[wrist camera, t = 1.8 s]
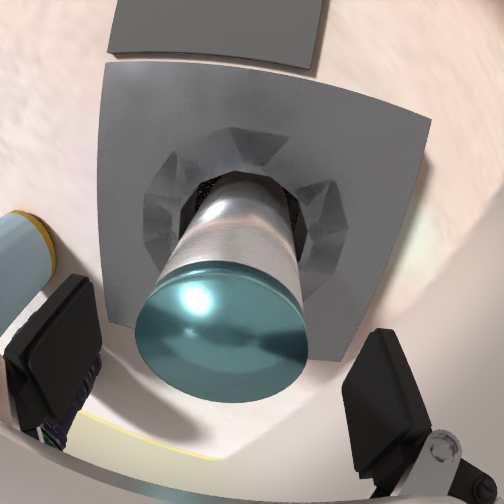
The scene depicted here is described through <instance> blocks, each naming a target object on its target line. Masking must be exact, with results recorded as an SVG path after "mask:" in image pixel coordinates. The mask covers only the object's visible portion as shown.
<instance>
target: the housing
mask: <svg viewBox="0 0 504 504" xmlns="http://www.w3.org/2000/svg"><path fill="white" fill-rule="evenodd" d="M431 121H432V119H429V118H427V117H424V116H422V115H419V114H417V113H414V112H412V111H409V110H407V109H404V108H401V107H399V106H396V105H393V104H390V103H388V102H385V101H382V100H379V99H376V98H373V97H370V96H366V95H363V94H360V93H357V92H353V91H350V90H346V89H343V88H339V87H335V86H331V85H328V84H324V83H320V82H315V81H311V80H307V79H302V78H298V77H293V76H288V75H283V74H277V73H272V72H266V71H260V70H253V69H246V68H239V67H231V66H222V65H212V64H200V63H185V62H156V61H136V62H108V63H106V64H105V70H104V78H103V86H102V95H101V105H100V117H99V131H98V154H97V207H98V229H99V245H100V257H101V267H102V277H103V285H104V293H105V301H106V308H107V314H108V320H109V322H111V323H115V324H119V325H123V326H126V327H130V328H134V329H135V326H136V321H137V318H138V315H139V313H140V311H141V309H142V307H143V306H144V304H145V302H146V300H147V298H148V296H149V294H150V293H151V291H152V289H153V287H154V285H155V283H156V282H157V280H158V278H159V276H160V274H161V273H162V271H163V269H164V267H165V265H166V264H167V262H168V260H169V258H170V257H171V255H172V253H173V251H174V250H175V248H176V246H177V245H178V243H179V241H180V239H181V238H182V236H183V234H184V233H185V231H186V229H187V228H188V226H189V224H190V223H191V221H192V219H193V218H194V216H195V214H196V213H195V208H196V199H197V189H198V186H199V185H200V183H202V182H204V181H207V180H209V179H212V178H215V177H217V176H220V175H223V174H225V173H228V172H231V171H234V170H235V171H241V172H247V173H253V174H258V175H264V176H269V177H272V178H273V179H274V180H275V181H276V182H278V183H279V184H280V185H281V186H282V187H284V188H285V189H286V190H287V191H288V192H290V193H291V194H292V195H293V196H294V197H295V198H297V199H298V201H299V204H300V210H299V214H298V219H297V223H296V227H295V230H294V231H293V232H292V234H293V240H294V246H295V253H296V260H297V266H298V273H299V280H300V287H301V294H302V301H303V309H304V317H305V324H306V332H307V340H308V358H307V359H313V360H324V361H335V362H341V361H342V359H343V357H344V355H345V353H346V351H347V349H348V347H349V345H350V343H351V341H352V339H353V337H354V335H355V333H356V331H357V329H358V327H359V325H360V323H361V321H362V319H363V316H364V314H365V312H366V310H367V308H368V306H369V303H370V301H371V299H372V297H373V294H374V292H375V290H376V288H377V285H378V283H379V281H380V278H381V276H382V273H383V271H384V269H385V266H386V264H387V261H388V259H389V256H390V254H391V251H392V248H393V246H394V243H395V240H396V238H397V235H398V232H399V230H400V227H401V224H402V221H403V218H404V215H405V212H406V209H407V206H408V203H409V200H410V197H411V194H412V191H413V188H414V185H415V181H416V178H417V175H418V171H419V168H420V164H421V161H422V157H423V153H424V149H425V146H426V142H427V138H428V134H429V129H430V125H431Z"/></svg>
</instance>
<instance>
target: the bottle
mask: <svg viewBox="0 0 504 504" xmlns="http://www.w3.org/2000/svg"><path fill="white" fill-rule="evenodd" d="M55 267H56V257H55V250H54V245H53V242H52V240H51V237H50V235H49V233H48V232H47V230H46V229H45V227H44V226H43V224H42V223H41V222H39V221H38V220H37V219H36V218H35V217H33V216H32V215H30V214H28V213H26V212H24V211H18V210H14V211H12V212H10V213H8V214H6V215H4V216H2V217H1V218H0V337H1V336H2V334H3V333H4V332H5V331H6V329H7V328H8V327H9V326H10V325H11V323H12V322H13V321H14V320H15V319H16V317H17V316H18V315H19V314H20V313H21V312H22V311H23V309H24V308H25V307H26V306H27V305H28V304H29V303H30V301H31V300H32V299H33V298H34V297H35V296H36V295H37V294H38V293H39V291H40V290H41V289H42V288H43V287H44V286H45V285H46V284H47V283H48V282H49V280H50V279H51V278H52V277H53V274H54V272H55Z"/></svg>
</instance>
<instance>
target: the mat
mask: <svg viewBox="0 0 504 504" xmlns="http://www.w3.org/2000/svg"><path fill="white" fill-rule="evenodd" d="M322 1H323V0H118V2H117V6H116V10H115V15H114V19H113V24H112V29H111V34H110V39H109V44H108V50H107V53H110V54H116V53H147V52H159V53H190V54H205V55H217V56H227V57H236V58H244V59H251V60H258V61H264V62H270V63H276V64H281V65H287V66H292V67H296V68H301V69H306V70H309V69H310V66H311V61H312V55H313V50H314V45H315V40H316V34H317V29H318V23H319V18H320V12H321V7H322Z"/></svg>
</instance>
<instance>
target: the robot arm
mask: <svg viewBox="0 0 504 504" xmlns="http://www.w3.org/2000/svg"><path fill="white" fill-rule="evenodd" d="M101 346H102V337H101V331H100V326H99V320H98V315H97V308H96V302H95V295H94V288H93V284H92V283H91V282H90V281H89V278H88V277H86V276H82V275H78V274H71V275H70V276H69V277H68V278H67V279H66V280H65V281H64V282H63V283H62V284H61V285H60V286H59V287H58V289H57V290H56V291H55V292H54V293H53V294H52V295H51V296H50V297H49V298H48V299H47V301H46V302H45V303H44V304H43V305H42V306H41V307H40V308H39V310H38V311H37V312H36V313H35V314H34V315H33V316H32V318H31V319H30V320H29V321H28V322H27V323H26V325H25V326H24V327H23V328H22V329H21V331H20V332H19V333H18V334H17V336H16V337H15V338H14V339H13V340H12V342H11V343H10V344H9V345H8V347H7V348H6V349H5V354H4V355H3V357H2V355H1V354H0V504H504V500H503V499H502V498H501V497H498V498H496V497H497V486H496V483H495V482H494V480H493V479H492V478H491V477H490V476H489V475H487V474H486V473H484V472H482V471H481V470H479V469H478V468H476V467H475V466H473V465H471V464H470V463H468V462H467V461H465V460H464V459H462V458H461V454H462V449H461V445H460V443H459V440H458V439H457V438H456V436H454V435H453V434H452V433H451V432H449V431H446V430H440V429H439V430H435V431H433V432H432V429H431V426H432V424H431V421H430V419H429V416H428V413H427V410H426V408H425V405H424V402H423V399H422V397H421V394H420V392H419V389H418V386H417V384H416V381H415V379H414V376H413V374H412V372H411V369H410V366H409V364H408V362H407V359H406V357H405V355H404V352H403V350H402V348H401V345H400V343H399V341H398V338H397V336H396V334H395V332H394V330H392V329H382V328H377V329H376V330H375V331H374V332H371V333H370V334H369V336H368V337H367V339H366V341H365V343H364V345H363V347H362V349H361V351H360V353H359V355H358V357H357V358H356V360H355V362H354V364H353V366H352V368H351V369H350V371H349V373H348V375H347V377H346V378H345V380H344V382H343V385H342V396H343V401H344V407H345V413H346V419H347V425H348V431H349V437H350V443H351V450H352V456H353V463H354V469H355V471H356V472H359V478H360V479H368V478H373V481H374V486H373V487H372V489H371V491H370V492H369V493H368V495H367V496H366V498H365V499H364V500H352V501H337V502H315V503H287V502H285V503H284V502H264V501H252V500H240V499H232V498H224V497H217V496H210V495H204V494H198V493H192V492H187V491H182V490H178V489H173V488H168V487H164V486H160V485H157V484H153V483H149V482H145V481H141V480H138V479H135V478H131V477H128V476H125V475H122V474H119V473H116V472H113V471H109V470H107V469H104V468H101V467H98V466H96V465H93V464H91V463H88V462H86V461H83V460H81V459H78V458H76V457H73V456H71V455H69V454H67V453H64V452H62V451H60V450H58V449H55V448H53V447H51V446H49V445H47V444H45V443H44V439H43V436H42V432H41V428H40V425H41V423H42V421H45V422H48V423H50V424H52V425H54V426H56V424H57V422H58V420H62V419H63V418H64V416H65V414H66V412H67V410H68V408H69V406H70V404H71V402H72V400H73V399H74V397H75V395H76V393H77V391H78V389H79V387H80V385H81V383H82V382H83V380H84V378H85V376H86V374H87V373H88V371H89V369H90V367H91V365H92V364H93V362H94V360H95V358H96V356H97V355H98V353H99V351H100V349H101Z"/></svg>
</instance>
